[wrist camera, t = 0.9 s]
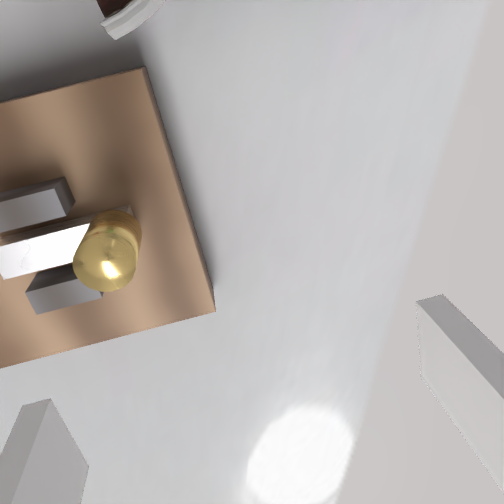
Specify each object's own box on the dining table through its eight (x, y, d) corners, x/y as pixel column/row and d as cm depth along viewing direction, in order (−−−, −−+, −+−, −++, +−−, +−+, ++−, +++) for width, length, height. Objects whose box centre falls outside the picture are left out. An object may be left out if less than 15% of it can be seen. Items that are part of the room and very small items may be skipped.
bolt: (135, 194, 27) (123, 230, 22) (151, 239, 28) (143, 283, 23) (-6, 230, 26) (-51, 275, 21) (16, 274, 28) (-21, 326, 23)
